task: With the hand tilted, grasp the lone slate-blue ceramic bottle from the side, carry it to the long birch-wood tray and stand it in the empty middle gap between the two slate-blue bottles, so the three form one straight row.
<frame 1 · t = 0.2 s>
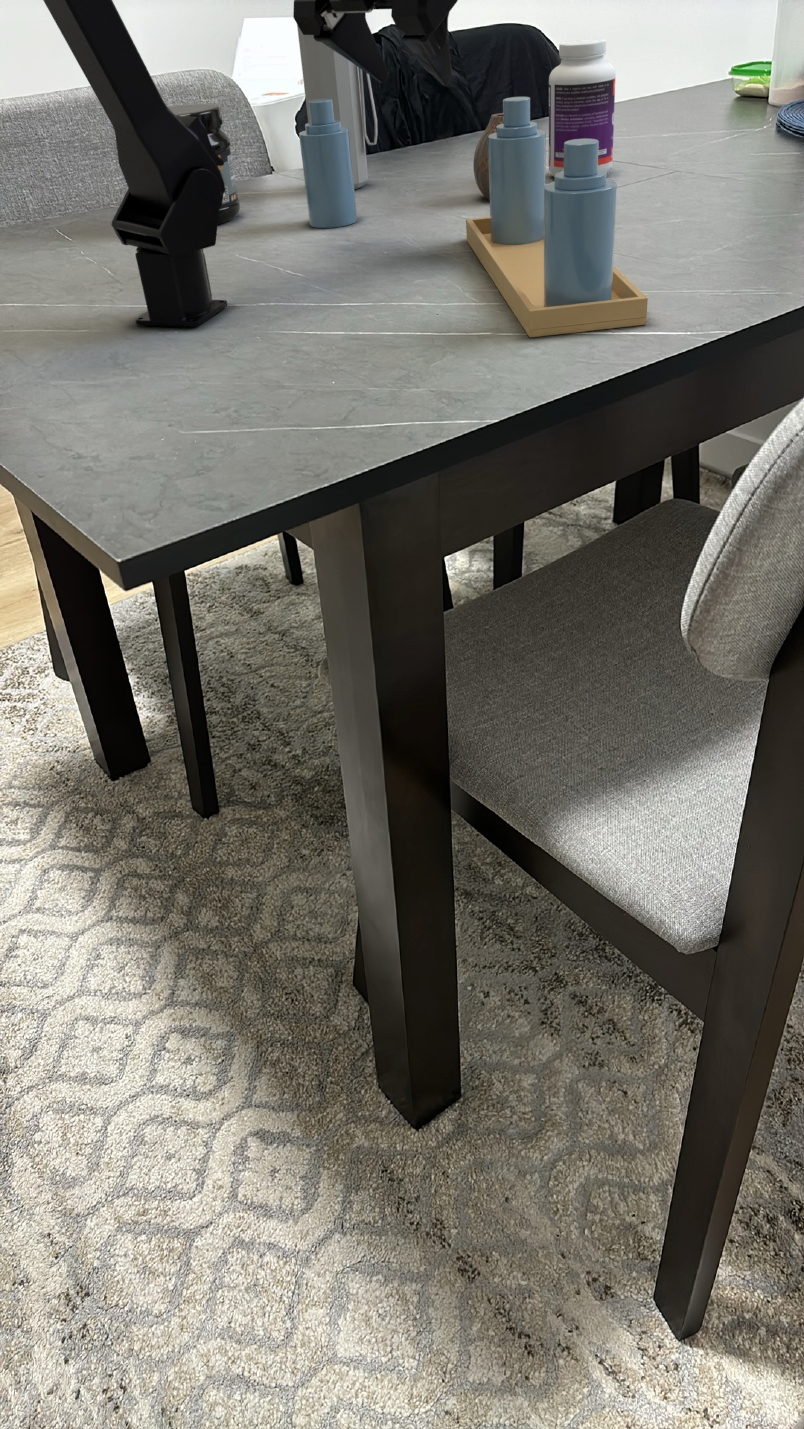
hand: (415, 80, 102), 15 cm above the table, tool tilted 35°, fingers open, 9 cm apart
bottle 1: (517, 237, 107), point 1 cm above the table, touching tray
bottle 2: (577, 310, 86), point 1 cm above the table, touching tray
pill bottle: (579, 176, 132), on the table
supplement container: (199, 222, 128), on the table
vase: (503, 198, 126), on the table
tray: (544, 276, 97), on the table
loose bottle: (333, 222, 122), on the table
water bottle: (349, 188, 138), on the table
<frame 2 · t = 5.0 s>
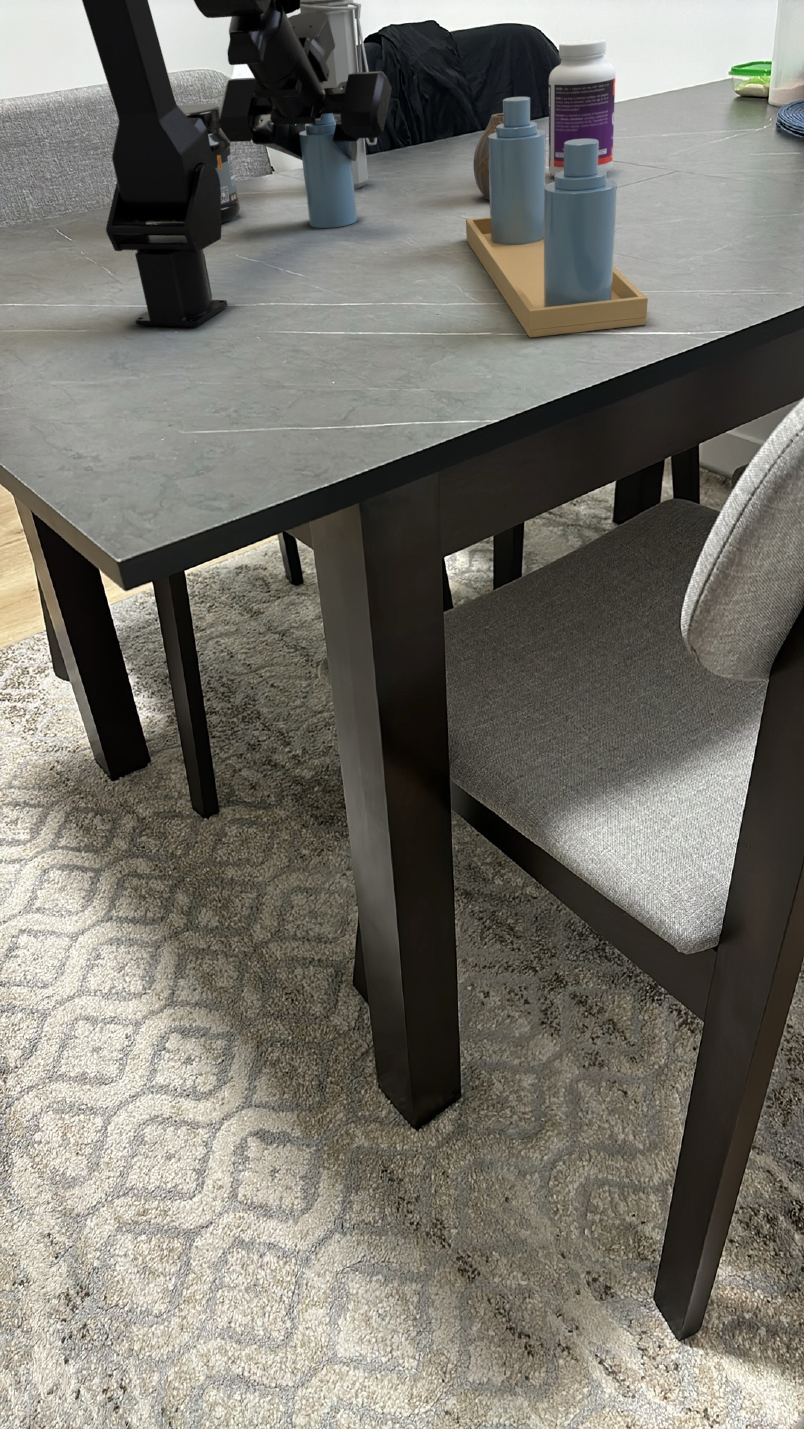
hand: (331, 157, 119), 7 cm above the table, tool tilted 45°, fingers closed on loose bottle, 5 cm apart
loose bottle: (333, 222, 122), on the table, touching gripper
everything else where it was.
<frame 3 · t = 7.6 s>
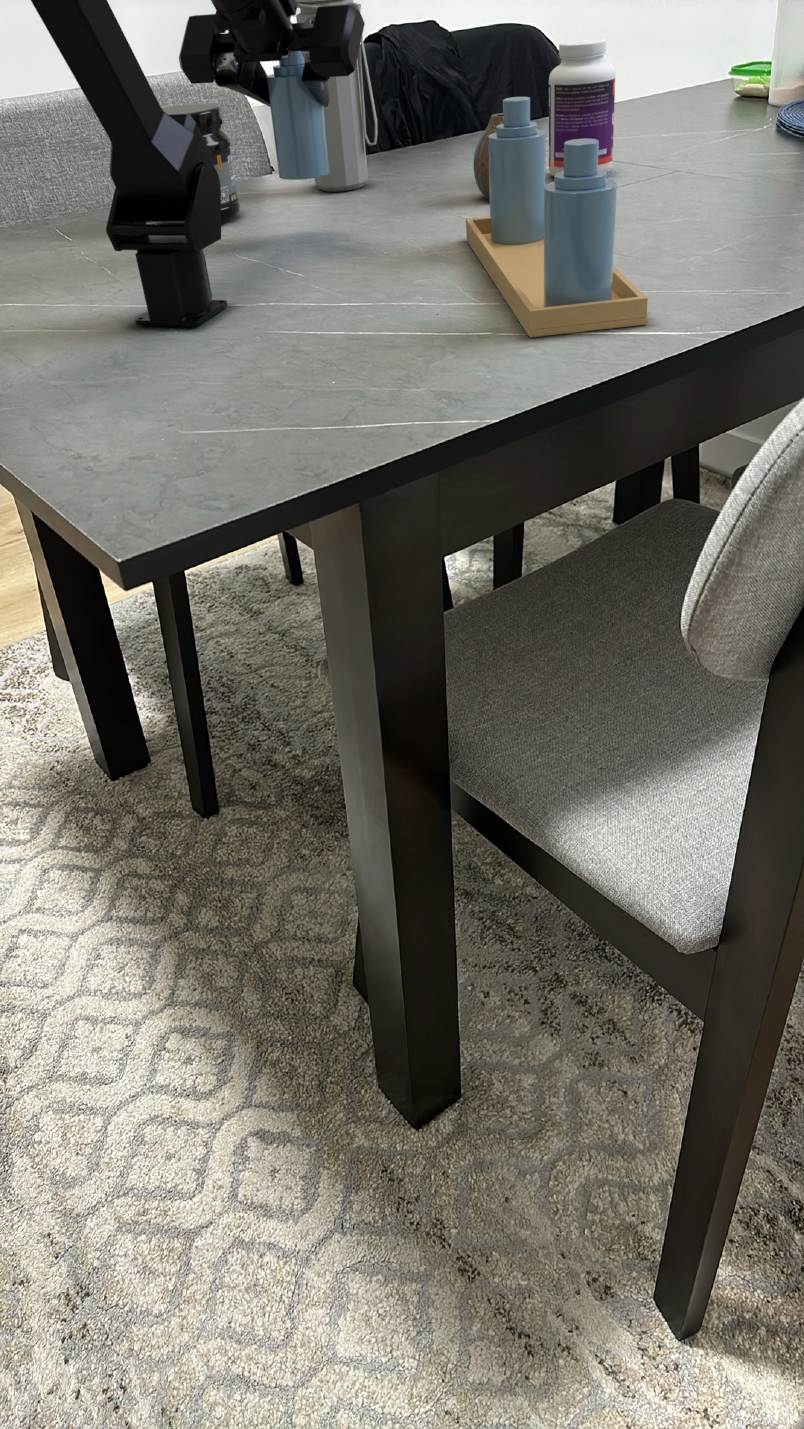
hand: (302, 104, 111), 13 cm above the table, tool tilted 45°, fingers closed on loose bottle, 5 cm apart
loose bottle: (304, 174, 114), point 6 cm above the table, touching gripper
everything else where it was.
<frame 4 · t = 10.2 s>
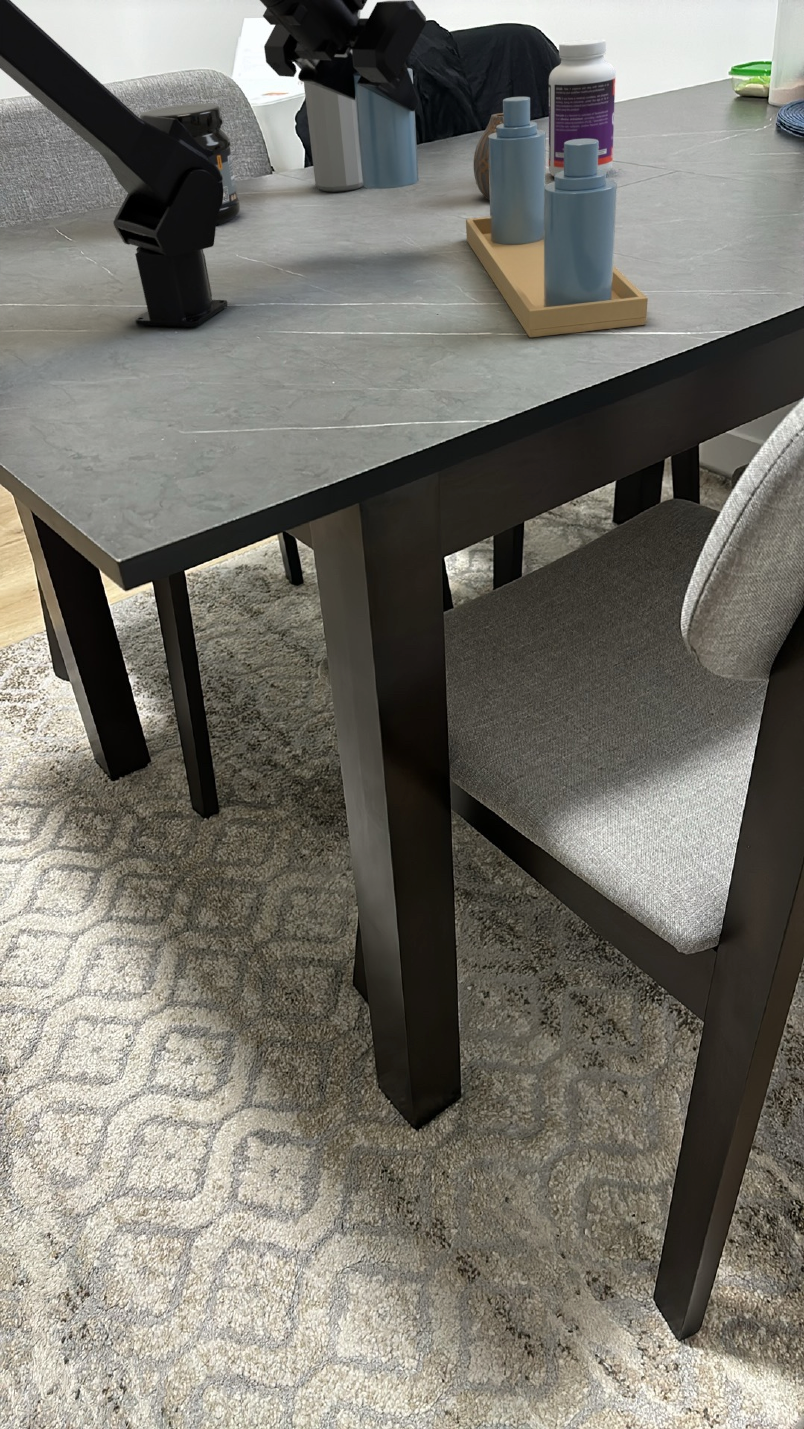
hand: (396, 105, 100), 13 cm above the table, tool tilted 45°, fingers closed on loose bottle, 5 cm apart
loose bottle: (390, 182, 103), point 7 cm above the table, touching gripper
everything else where it was.
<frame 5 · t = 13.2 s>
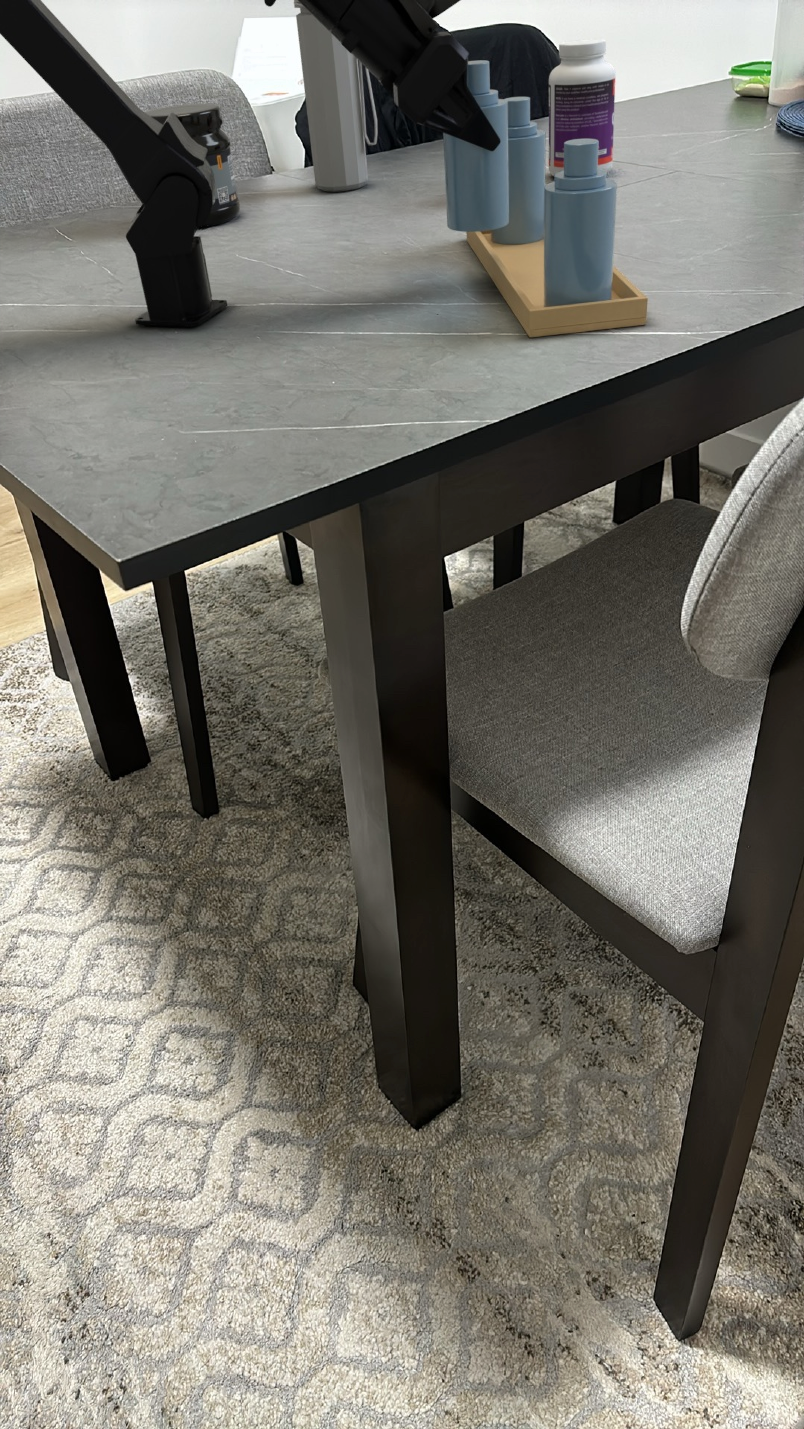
hand: (491, 141, 90), 12 cm above the table, tool tilted 45°, fingers closed on loose bottle, 5 cm apart
loose bottle: (478, 224, 94), point 5 cm above the table, touching gripper
everything else where it was.
when the fingers open (7 cm above the table, at t = 15.8 s): loose bottle stays where it is, resting on tray.
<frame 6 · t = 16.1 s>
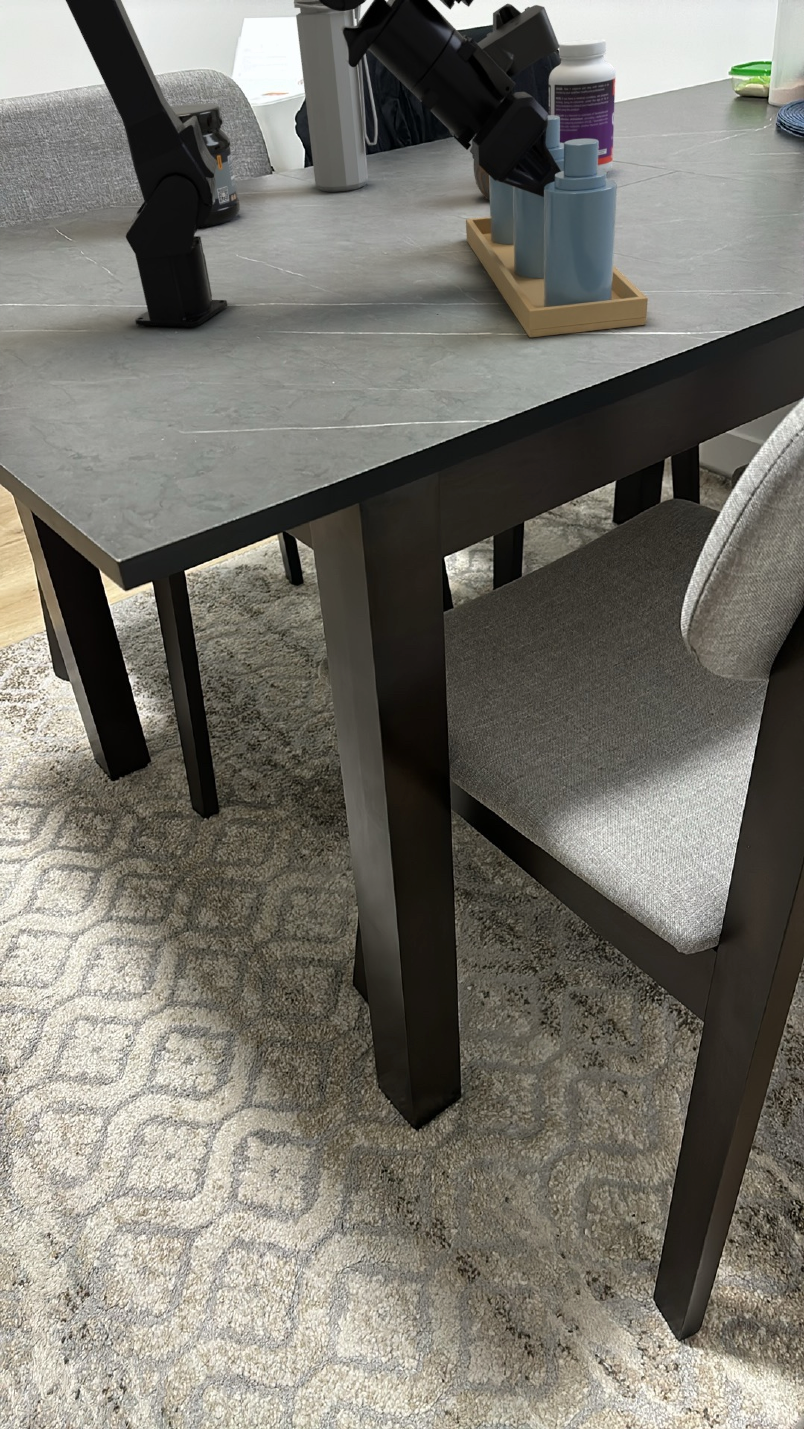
hand: (560, 191, 93), 7 cm above the table, tool tilted 45°, fingers open, 8 cm apart
loose bottle: (543, 270, 97), point 1 cm above the table, touching tray
everything else where it was.
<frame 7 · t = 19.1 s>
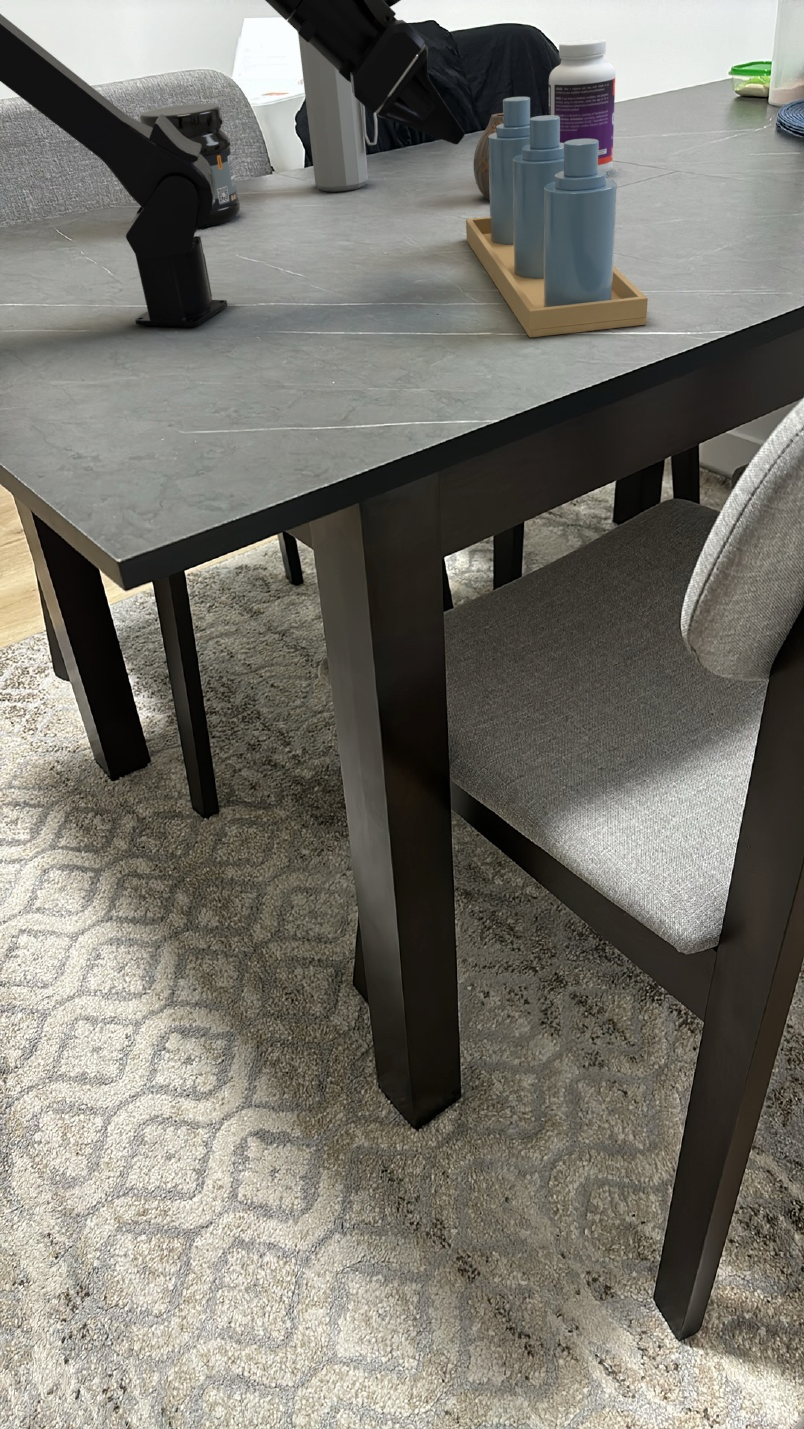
hand: (453, 131, 89), 13 cm above the table, tool tilted 45°, fingers open, 9 cm apart
nothing on the table moved.
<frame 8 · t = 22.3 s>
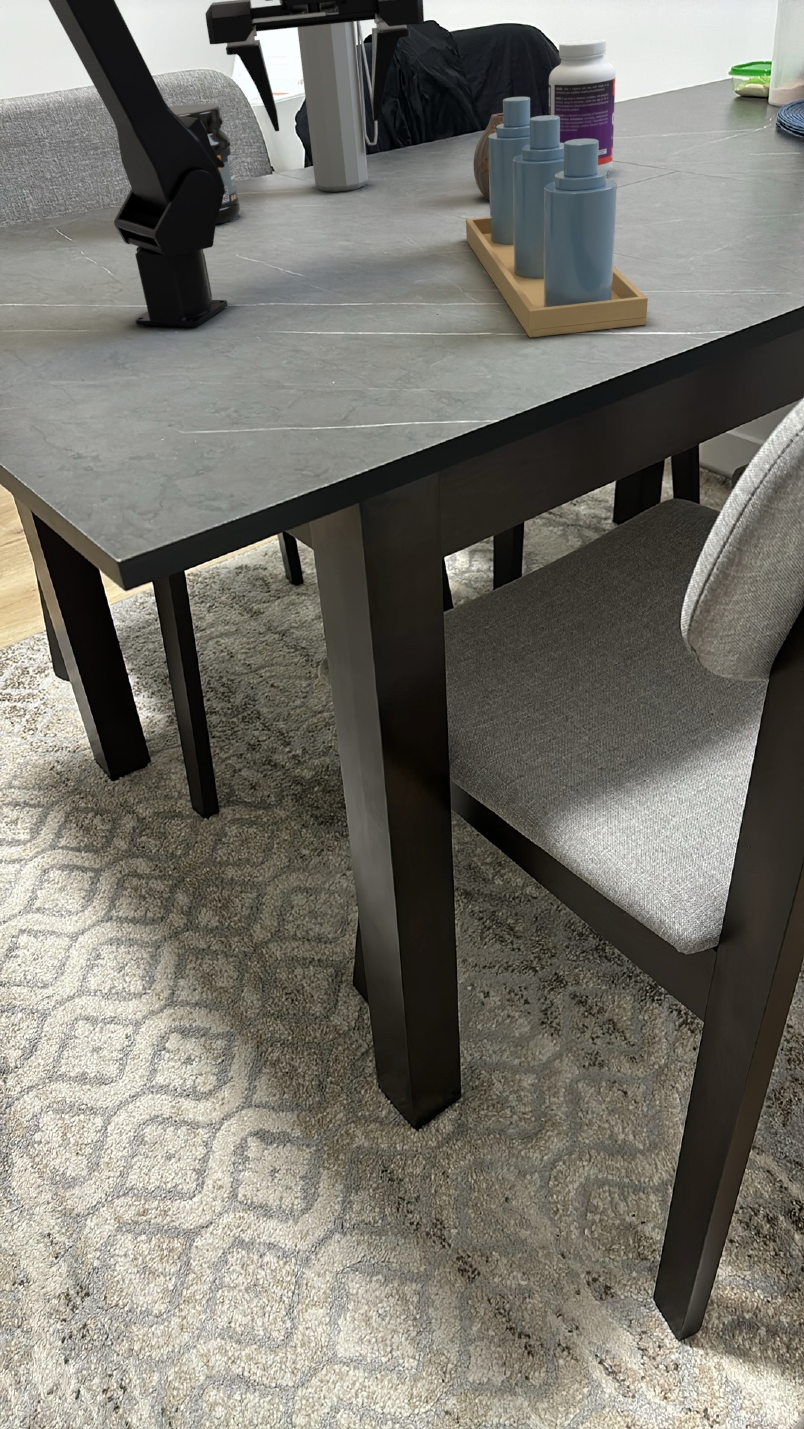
hand: (326, 125, 96), 13 cm above the table, tool pointing down, fingers open, 9 cm apart
nothing on the table moved.
at the end: loose bottle 0.0 cm off-centre in the tray, point 0.6 cm above the tray's base; loose bottle tilted 0°; the gripper is holding nothing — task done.
